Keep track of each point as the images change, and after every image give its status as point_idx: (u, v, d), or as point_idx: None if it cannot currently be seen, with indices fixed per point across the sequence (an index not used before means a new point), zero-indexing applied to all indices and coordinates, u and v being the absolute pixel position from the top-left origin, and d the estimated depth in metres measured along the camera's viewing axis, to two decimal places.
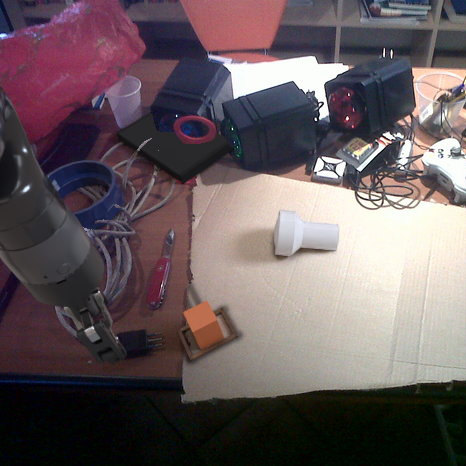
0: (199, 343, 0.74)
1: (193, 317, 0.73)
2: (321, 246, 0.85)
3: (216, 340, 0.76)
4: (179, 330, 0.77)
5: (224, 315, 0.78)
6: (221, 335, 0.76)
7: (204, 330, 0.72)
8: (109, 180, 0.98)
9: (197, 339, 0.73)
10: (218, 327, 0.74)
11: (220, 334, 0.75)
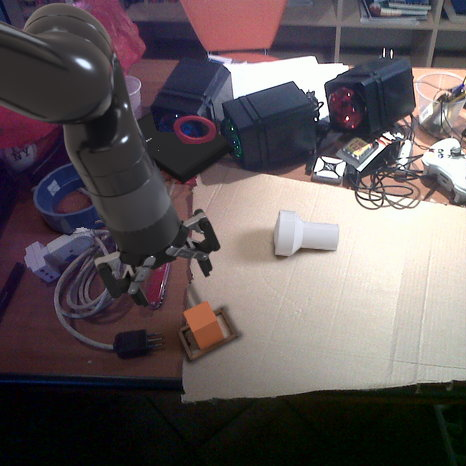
0: (199, 343, 0.74)
1: (193, 317, 0.73)
2: (321, 246, 0.85)
3: (216, 340, 0.76)
4: (179, 330, 0.77)
5: (224, 315, 0.78)
6: (221, 335, 0.76)
7: (204, 330, 0.72)
8: None
9: (197, 339, 0.73)
10: (218, 327, 0.74)
11: (220, 334, 0.75)
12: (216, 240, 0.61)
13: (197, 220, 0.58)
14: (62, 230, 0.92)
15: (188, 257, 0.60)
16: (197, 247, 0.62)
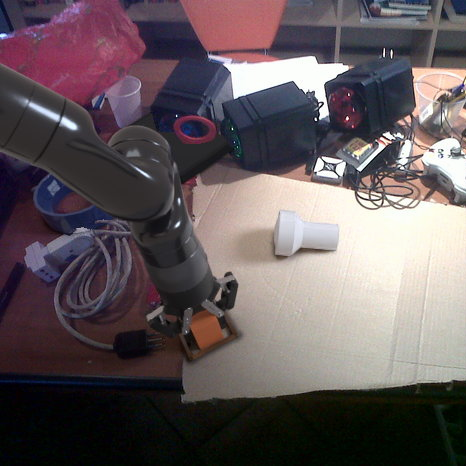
0: (199, 343, 0.74)
1: (193, 317, 0.73)
2: (321, 246, 0.85)
3: (216, 340, 0.76)
4: None
5: None
6: (221, 336, 0.76)
7: (204, 330, 0.72)
8: None
9: (197, 339, 0.73)
10: (218, 327, 0.74)
11: (220, 334, 0.75)
12: (234, 300, 0.73)
13: (228, 280, 0.70)
14: (62, 230, 0.92)
15: (212, 311, 0.71)
16: None
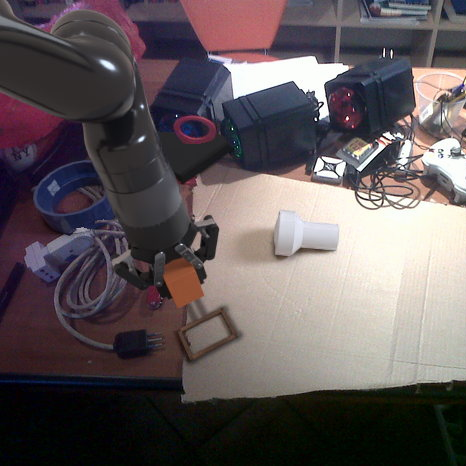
0: (175, 298, 0.65)
1: (168, 268, 0.64)
2: (321, 246, 0.85)
3: (195, 296, 0.67)
4: (179, 330, 0.77)
5: (224, 315, 0.78)
6: (201, 291, 0.67)
7: (180, 282, 0.63)
8: None
9: (172, 293, 0.64)
10: (196, 280, 0.65)
11: (200, 289, 0.66)
12: (214, 249, 0.64)
13: (207, 224, 0.61)
14: (62, 230, 0.92)
15: (188, 260, 0.62)
16: None
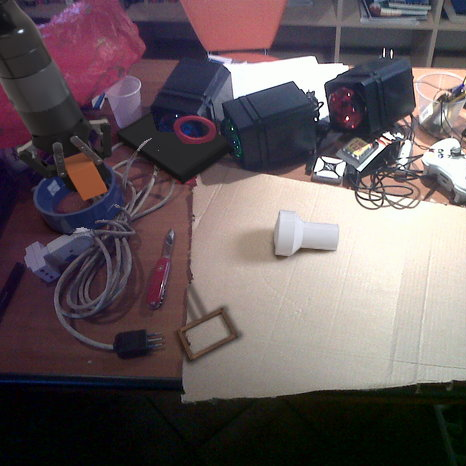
0: (79, 190, 0.77)
1: (71, 163, 0.76)
2: (321, 246, 0.85)
3: (98, 191, 0.79)
4: (179, 330, 0.77)
5: (224, 315, 0.78)
6: (103, 186, 0.79)
7: (81, 174, 0.76)
8: (109, 180, 0.98)
9: (75, 184, 0.76)
10: (97, 174, 0.77)
11: (101, 184, 0.79)
12: (110, 147, 0.76)
13: (101, 123, 0.73)
14: (62, 230, 0.92)
15: (86, 153, 0.74)
16: (94, 153, 0.77)
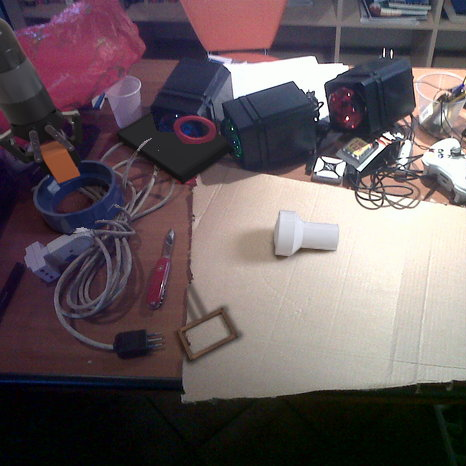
0: (54, 174, 0.87)
1: (46, 149, 0.86)
2: (321, 246, 0.85)
3: (71, 175, 0.89)
4: (179, 330, 0.77)
5: (224, 315, 0.78)
6: (76, 171, 0.89)
7: (55, 159, 0.86)
8: (109, 180, 0.98)
9: (50, 168, 0.86)
10: (70, 160, 0.87)
11: (74, 168, 0.89)
12: (81, 135, 0.86)
13: (72, 113, 0.84)
14: (62, 230, 0.92)
15: (59, 141, 0.84)
16: (67, 141, 0.87)
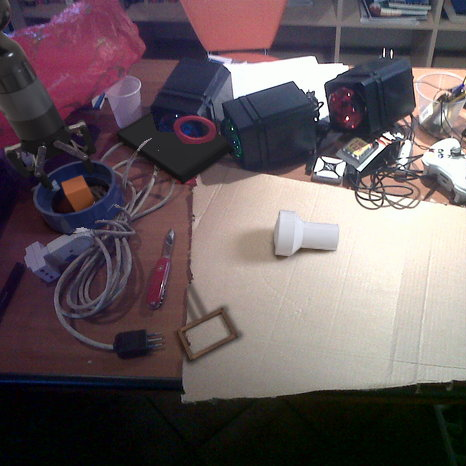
0: (75, 208, 0.94)
1: (68, 186, 0.93)
2: (321, 246, 0.85)
3: None
4: (179, 330, 0.77)
5: (224, 315, 0.78)
6: None
7: (76, 195, 0.92)
8: (109, 180, 0.98)
9: (72, 203, 0.93)
10: (89, 195, 0.94)
11: (93, 202, 0.95)
12: (92, 144, 0.88)
13: (78, 126, 0.86)
14: (62, 230, 0.92)
15: (71, 153, 0.87)
16: (80, 150, 0.89)
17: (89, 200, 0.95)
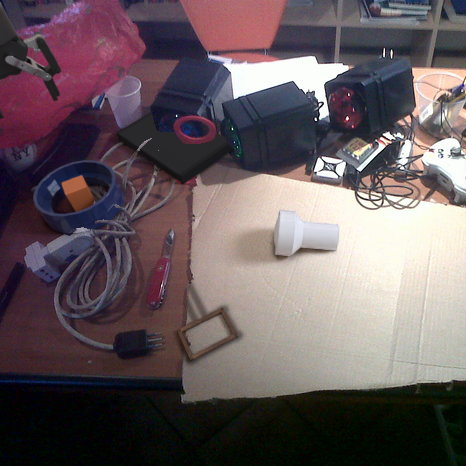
0: (75, 208, 0.94)
1: (68, 186, 0.93)
2: (321, 246, 0.85)
3: None
4: (179, 330, 0.77)
5: (224, 315, 0.78)
6: None
7: (76, 195, 0.92)
8: (109, 180, 0.98)
9: (72, 203, 0.93)
10: (89, 195, 0.94)
11: (93, 202, 0.95)
12: (55, 61, 0.76)
13: (34, 39, 0.73)
14: (62, 230, 0.92)
15: (29, 71, 0.75)
16: (42, 70, 0.77)
17: (89, 200, 0.95)
